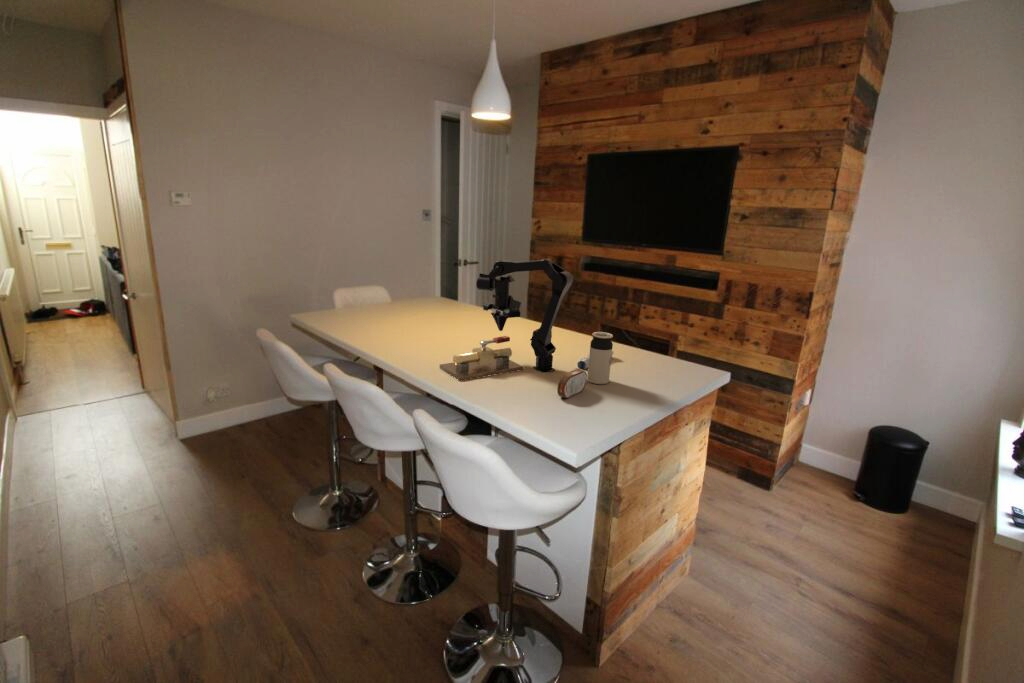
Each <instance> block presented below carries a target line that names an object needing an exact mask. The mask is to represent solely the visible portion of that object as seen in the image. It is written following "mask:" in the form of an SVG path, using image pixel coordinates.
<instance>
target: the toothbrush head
mask: <svg viewBox="0 0 1024 683" xmlns="http://www.w3.org/2000/svg"><path fill="white" fill-rule="evenodd" d="M613 355H614V351H613V350H612V356H611V360H612V359H613ZM576 364H577V369H579V368H580V370H582V369H584V370H585V369H588V365H589V355H587V356H586V357H585V356H584V357H582V358H581V359H580V360H579V361H578V362H577V363H576Z"/></svg>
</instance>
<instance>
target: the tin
mask: <svg viewBox="0 0 1024 683" xmlns="http://www.w3.org/2000/svg"><path fill="white" fill-rule="evenodd" d="M587 376H588V373H587V372H586V371H584V370H582V369H579V368H576V369H573V370H570V371H569V372H566V373H564V374H563V375H562V376H561V377H560V378H559V381H558V384H557V395H558V396H559V397H561V398H565V399H569V398H571V397H574V396H575V395H578V394H580V393H582V391H583V390H584V388H585V387H586V384H587Z"/></svg>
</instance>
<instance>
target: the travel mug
mask: <svg viewBox="0 0 1024 683" xmlns="http://www.w3.org/2000/svg"><path fill="white" fill-rule="evenodd" d="M591 335H592V339H591V341H590V346H589V355H588V356H589V365H588V368H587V379H586V381H588V382H589V383H592V384H594V385H606V384H608V383H610V382H609V381H610V372H611V364H612V359H611V356H612V357H613V355H612V351H613V345H614V344H613V341H612V339H613V337H614V336H613V334H612V333H609V332H604V331H595V332H593V333H591Z"/></svg>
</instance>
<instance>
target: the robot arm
mask: <svg viewBox="0 0 1024 683" xmlns="http://www.w3.org/2000/svg"><path fill="white" fill-rule="evenodd" d="M492 267H493V268H492V270H491V271H490V272H489V273H485V272H480V273H479V275H478V277H477V280H476V288H477V290H479V291H485V292H487V291H488V292H493V291H494V294H492V298H494V301H492V302H491V301H490V302H485V303H484V304H483V305H482V310H483V311H487V312H488V311H489V310H492V312H490V315H491V316H492V317H493V320H494V322H495V325H496V326H497V329H498V331H500V332H502V331H503V330H504V328H505V325H506V322H507V320H508V319H512V318H520V317H521V316H522V315H521V314H522V313H521V312H522V311H521V310H520V308H521V306H522V302H521V301H519V300H516V299H514V297H512V295H511V294H510V283H514V282H515V281H516V279H515V278H513V277H512V275H510V274H514V273H518V272H529V271H530V272H532V271H533V272H534V271H543V272H544V273H545V274H546V277H547V278H548V279H550V280H551V285H550V286H551V296H550V298H549V301H548V303H547V306H546V310H545V313H544V314H543V315H544V316H543V318H542V321H541V324H540V327H538V328H537V329H535V330H533V332H532V335H531V336H532V337H531V338H530V339H529V341H531V342H530V346H531V348H532V349H533V352H534V356H535V357H536V358H535V366H532V369H534V370H537V371H539V372H541V373H547V372H548V373H549V372H553V371H554V372H555V371H556V369H555V368H553V363H554V362H553V361H554V355H553V354H555V352H556V349H557V347H556V346H555V345H554V343H553V342H552V338H553V335H552V328H553V326H554V323H555V321H556V318H557V315H558V312H559V310H560V307H561V304H562V301H563V298H564V296H565V294H567V292H568V291H569V290H570V287H571V286H572V284H573V282H574V277H573V275H572V273H571V272H569V271H567V270H565V269H564V268H563V267H561V266H559V265H558V264H556V263H555V262H554V261H553V260H552V259H551V258H546V259H545V258H543V259H540V260H538V259H537V260H527V261H524V260H523V261H515V260H510V259H509V260H508V259H503V260H497V261H495V263H494V264H493V266H492ZM498 277H499V278H498Z"/></svg>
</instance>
